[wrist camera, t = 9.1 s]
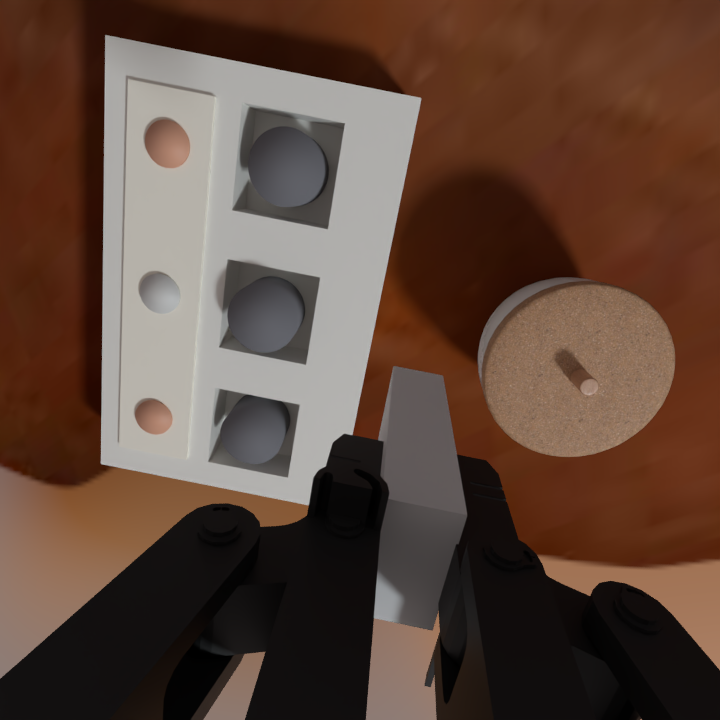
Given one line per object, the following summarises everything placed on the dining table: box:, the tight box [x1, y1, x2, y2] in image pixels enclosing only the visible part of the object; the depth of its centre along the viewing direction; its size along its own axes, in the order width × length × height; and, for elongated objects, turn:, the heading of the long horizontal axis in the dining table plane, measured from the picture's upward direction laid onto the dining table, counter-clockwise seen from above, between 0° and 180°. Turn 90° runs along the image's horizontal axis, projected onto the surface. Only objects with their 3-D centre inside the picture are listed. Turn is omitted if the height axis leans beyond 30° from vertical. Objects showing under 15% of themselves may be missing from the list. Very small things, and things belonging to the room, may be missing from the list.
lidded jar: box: [478, 277, 675, 457], centre depth 31 cm, size 11×11×9 cm
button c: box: [220, 394, 290, 464], centre depth 36 cm, size 4×4×3 cm
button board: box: [101, 35, 421, 505], centre depth 33 cm, size 18×28×4 cm, turn 169°
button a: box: [248, 126, 329, 207], centre depth 30 cm, size 4×4×3 cm
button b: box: [227, 276, 305, 353], centre depth 32 cm, size 4×4×3 cm
